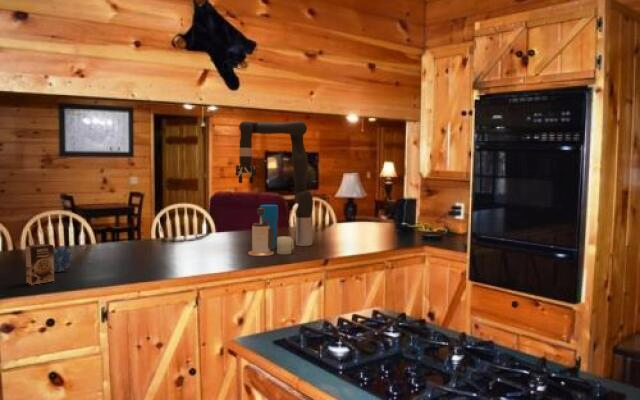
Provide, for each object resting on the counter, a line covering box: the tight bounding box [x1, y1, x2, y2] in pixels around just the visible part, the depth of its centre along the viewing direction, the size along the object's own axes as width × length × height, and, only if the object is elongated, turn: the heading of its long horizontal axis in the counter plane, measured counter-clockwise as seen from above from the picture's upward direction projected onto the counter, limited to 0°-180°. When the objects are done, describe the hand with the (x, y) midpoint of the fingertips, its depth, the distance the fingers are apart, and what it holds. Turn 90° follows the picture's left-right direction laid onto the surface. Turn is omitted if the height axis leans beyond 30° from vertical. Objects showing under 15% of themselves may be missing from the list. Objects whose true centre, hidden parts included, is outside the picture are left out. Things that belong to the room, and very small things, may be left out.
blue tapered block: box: [259, 204, 279, 249], centre depth 321 cm, size 11×11×25 cm
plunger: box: [257, 207, 265, 224], centre depth 299 cm, size 5×5×22 cm
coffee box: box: [25, 243, 55, 286], centre depth 228 cm, size 9×6×16 cm
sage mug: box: [276, 235, 295, 255], centre depth 303 cm, size 9×8×9 cm
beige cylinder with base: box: [247, 222, 275, 257], centre depth 299 cm, size 14×14×17 cm
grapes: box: [53, 245, 74, 273], centre depth 249 cm, size 12×7×12 cm, turn 120°
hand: (245, 183), depth 317 cm, fingers open, 8 cm apart
